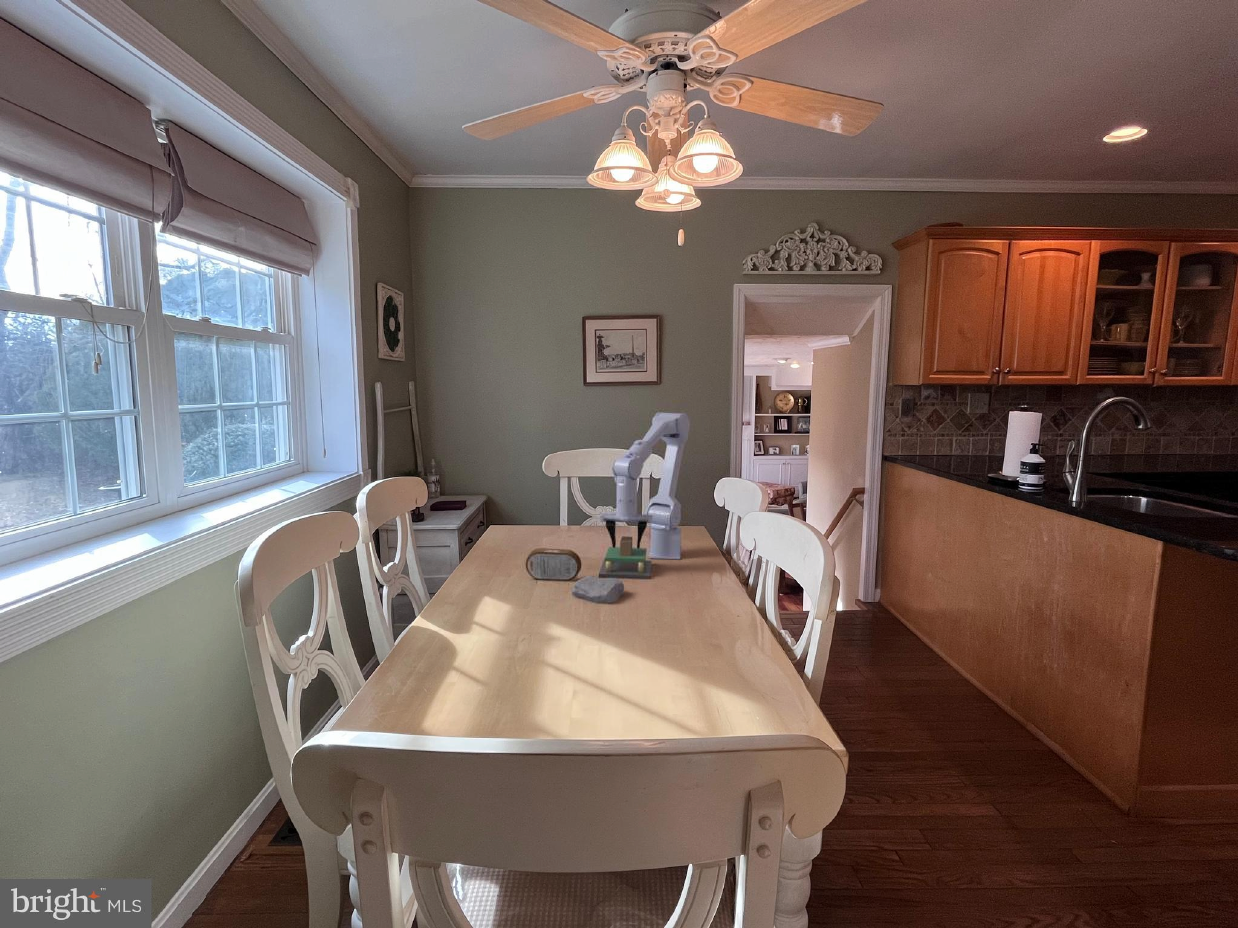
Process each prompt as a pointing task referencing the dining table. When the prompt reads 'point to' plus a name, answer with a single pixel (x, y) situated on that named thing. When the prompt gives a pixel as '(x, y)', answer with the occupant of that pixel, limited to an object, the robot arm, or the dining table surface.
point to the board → (618, 558)
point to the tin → (553, 564)
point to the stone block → (598, 589)
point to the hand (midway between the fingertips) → (626, 547)
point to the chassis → (626, 570)
